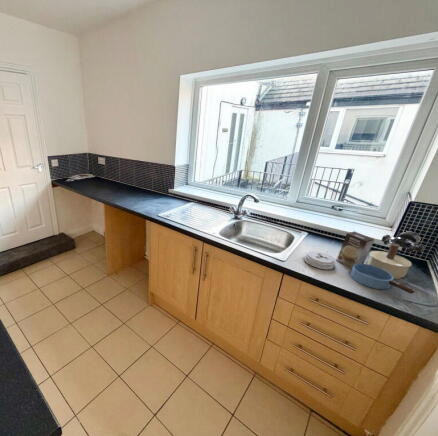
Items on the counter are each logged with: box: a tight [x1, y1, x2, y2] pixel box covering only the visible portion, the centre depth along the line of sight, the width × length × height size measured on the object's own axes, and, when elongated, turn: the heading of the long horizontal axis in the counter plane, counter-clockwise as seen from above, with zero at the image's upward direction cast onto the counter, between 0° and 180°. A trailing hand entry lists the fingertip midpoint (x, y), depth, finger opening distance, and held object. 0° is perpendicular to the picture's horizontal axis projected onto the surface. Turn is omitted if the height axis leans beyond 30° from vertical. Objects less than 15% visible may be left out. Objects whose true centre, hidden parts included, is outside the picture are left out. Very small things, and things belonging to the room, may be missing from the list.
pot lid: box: [368, 244, 413, 268], centre depth 114 cm, size 15×15×8 cm
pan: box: [350, 263, 415, 294], centre depth 106 cm, size 21×14×4 cm, turn 22°
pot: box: [366, 255, 410, 280], centre depth 116 cm, size 14×14×6 cm
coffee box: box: [335, 231, 375, 269], centre depth 119 cm, size 9×6×16 cm
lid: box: [304, 250, 337, 270], centre depth 122 cm, size 13×13×5 cm
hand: (397, 246), depth 115 cm, fingers open, 8 cm apart
